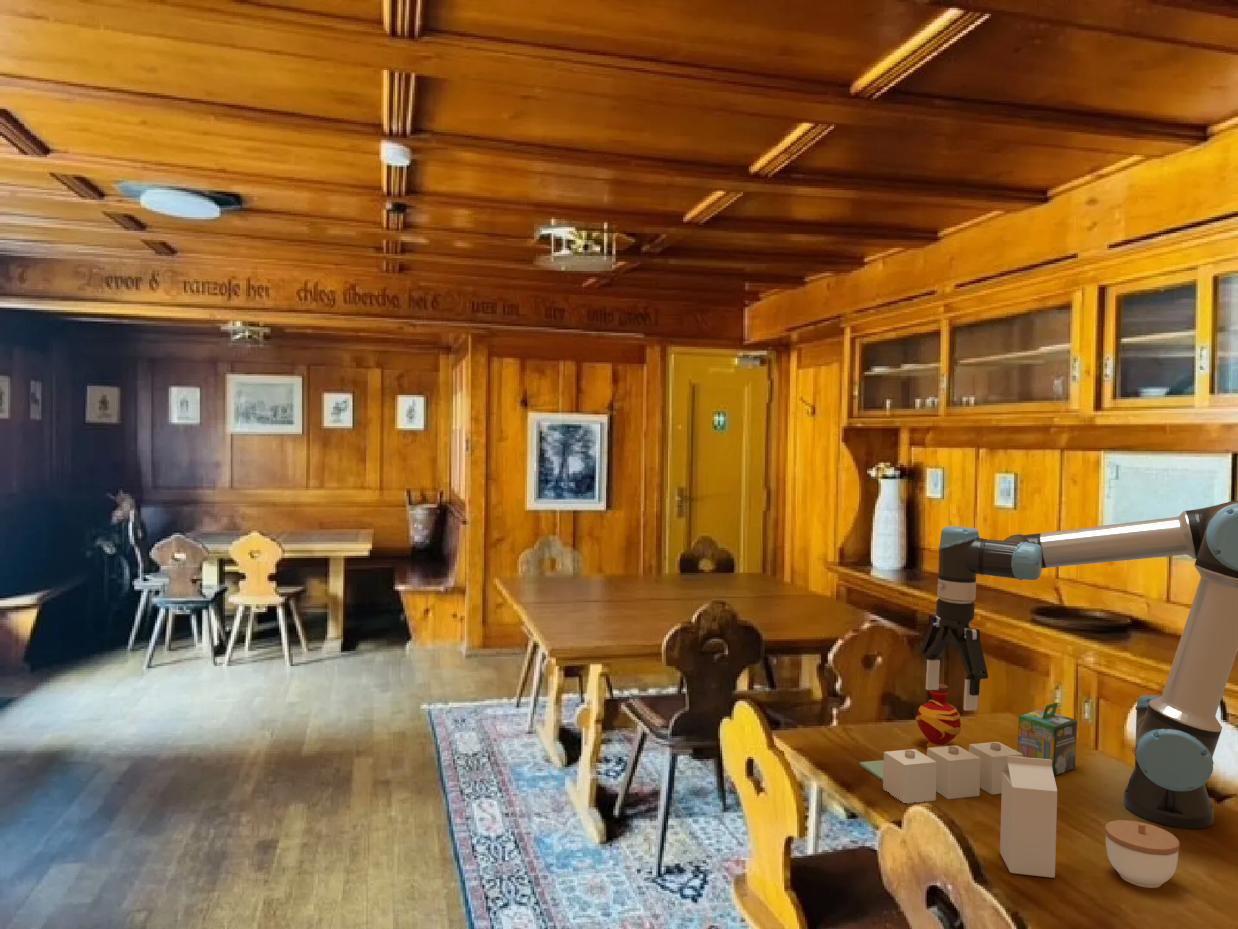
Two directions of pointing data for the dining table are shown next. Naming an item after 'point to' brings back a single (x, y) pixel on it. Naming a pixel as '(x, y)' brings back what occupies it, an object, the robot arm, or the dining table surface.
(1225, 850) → the dining table surface
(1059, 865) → the dining table surface
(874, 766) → the felt mat
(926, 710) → the potion bottle
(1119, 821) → the lidded jar
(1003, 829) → the milk carton
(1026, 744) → the chalk box
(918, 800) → the cloche left
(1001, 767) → the cloche right
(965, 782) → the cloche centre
